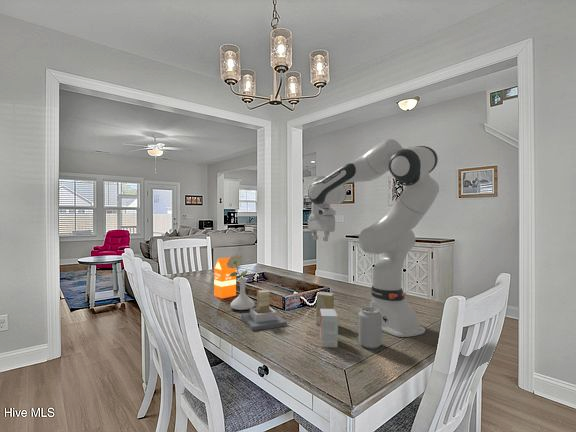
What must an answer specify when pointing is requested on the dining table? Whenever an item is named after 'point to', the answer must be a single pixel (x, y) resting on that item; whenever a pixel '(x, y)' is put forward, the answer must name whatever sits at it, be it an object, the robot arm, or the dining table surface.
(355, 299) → the dining table surface
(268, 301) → the maple peg
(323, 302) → the skincare box
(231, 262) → the flower in vase
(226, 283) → the orange juice
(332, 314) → the small box
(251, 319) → the socket board
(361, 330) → the can
